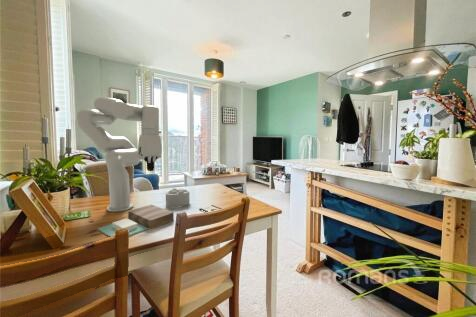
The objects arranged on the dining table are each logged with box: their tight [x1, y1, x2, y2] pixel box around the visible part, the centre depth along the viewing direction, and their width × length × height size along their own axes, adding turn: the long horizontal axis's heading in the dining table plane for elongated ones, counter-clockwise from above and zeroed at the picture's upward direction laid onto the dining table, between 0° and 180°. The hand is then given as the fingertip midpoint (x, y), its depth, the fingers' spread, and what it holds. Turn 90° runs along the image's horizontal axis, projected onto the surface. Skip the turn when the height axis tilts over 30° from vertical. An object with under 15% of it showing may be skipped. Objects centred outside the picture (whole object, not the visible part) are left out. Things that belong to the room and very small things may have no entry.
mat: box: [97, 219, 149, 237], centre depth 91 cm, size 16×13×1 cm
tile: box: [111, 218, 138, 231], centre depth 92 cm, size 9×6×2 cm, turn 54°
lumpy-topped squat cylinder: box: [165, 187, 190, 208], centre depth 125 cm, size 10×13×9 cm
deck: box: [127, 204, 175, 230], centre depth 101 cm, size 18×12×4 cm, turn 54°
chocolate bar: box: [198, 204, 222, 213], centre depth 114 cm, size 9×1×18 cm
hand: (150, 170), depth 105 cm, fingers closed
